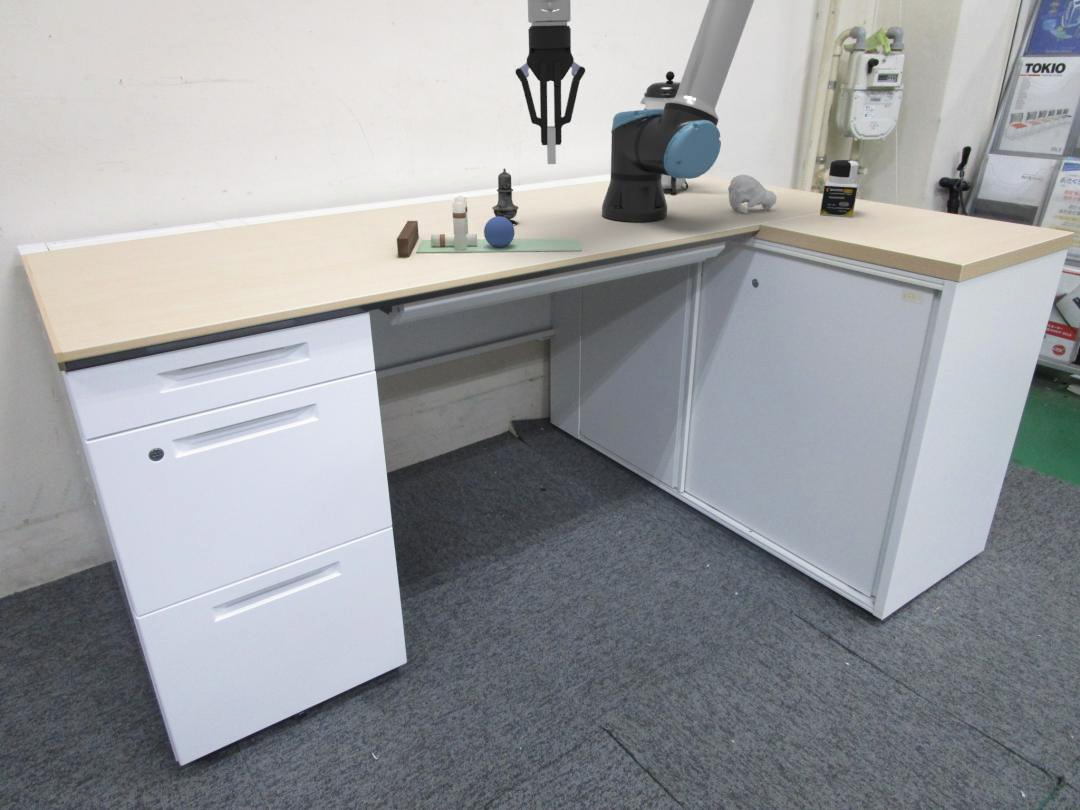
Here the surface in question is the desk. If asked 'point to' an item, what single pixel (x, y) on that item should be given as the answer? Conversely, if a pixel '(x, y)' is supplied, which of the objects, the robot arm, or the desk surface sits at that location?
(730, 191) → the grey animal figurine
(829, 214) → the medicine bottle
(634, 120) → the robot arm
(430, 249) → the lane mark
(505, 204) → the salt shaker
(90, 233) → the desk surface
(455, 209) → the pin rear left
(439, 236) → the pin front
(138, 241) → the desk surface
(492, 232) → the ball
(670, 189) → the coffee press
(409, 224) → the backstop
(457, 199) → the pin rear right
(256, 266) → the desk surface
